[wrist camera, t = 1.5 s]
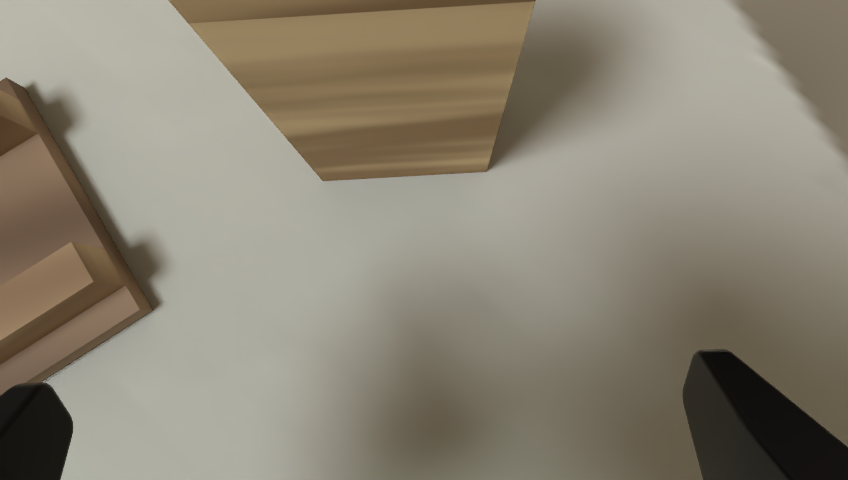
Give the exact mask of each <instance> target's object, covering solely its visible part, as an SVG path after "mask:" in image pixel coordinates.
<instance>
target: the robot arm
mask: <svg viewBox="0 0 848 480" xmlns="http://www.w3.org/2000/svg"><path fill="white" fill-rule="evenodd" d="M683 403H684V408H685V412H686V415H687V419H688V423H689V427H690V431H691V435H692V438H693V442H694V446H695V450H696V454H697V458H698V461H699V465H700V469H701V473H702V477H703V480H848V447H847V446H846V445H845V444H843V443H842V442H841V441H840V440H838V439H837V438H836V437H835V436H834V435H832V434H831V433H830V432H829V431H827V430H826V429H825V428H824V427H823V426H821V425H820V424H819V423H818V422H816V421H815V420H814V419H813V418H811V417H810V416H809V415H808V414H807V413H805V412H804V411H803V410H802V409H800V408H799V407H798V406H797V405H796V404H794V403H793V402H792V401H791V400H789V399H788V398H787V397H786V396H784V395H783V394H782V393H781V392H780V391H778V390H777V389H776V388H775V387H773V386H772V385H771V384H770V383H769V382H767V381H766V380H765V379H764V378H762V377H761V376H760V375H759V374H758V373H756V372H755V371H754V370H753V369H751V368H750V367H749V366H748V365H746V364H745V363H744V362H743V361H742V360H740V359H739V358H738V357H737V356H735V355H734V354H733V353H732V352H730V351H728V350H725V349H713V350H699V351H697V352H696V353H695V354H694V355H693V358H692V360H691V364H690V367H689V370H688V374H687V377H686V380H685V384H684V387H683ZM72 434H73V421H72V418H71V416H70V414H69V412H68V411H67V409H66V408H65V406H64V405H63V403H62V402H61V400H60V398H59V397H58V395H57V394H56V392H55V391H54V389H53V388H52V387H51V386H50V385H49V384H47V383H43V382H40V383H22V384H17V385H14V386H12V387H11V388H9V389H8V390H7V391H5V392H4V393H3V394H2V395H0V480H60V479H61V475H62V472H63V468H64V464H65V461H66V457H67V453H68V449H69V446H70V442H71V438H72Z"/></svg>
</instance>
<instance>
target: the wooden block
mask: <svg viewBox="0 0 848 480" xmlns="http://www.w3.org/2000/svg"><path fill="white" fill-rule="evenodd" d="M169 1H170V3H171V4H172V5H173V6H174V7H175V8H176V10H177V11H178V12H179V13H180V14H181V16H182V17H183V18H184V19H185V20H186V21H187V23H188V24H189V25H190V26H191V27H192V28H193V30H194V31H195V32H196V33H197V34H198V35H199V37H200V38H201V39H202V40H203V41H204V42H205V44H206V45H207V46H208V47H209V48H210V49H211V51H212V52H213V53H214V54H215V55H216V56H217V58H218V59H219V60H220V61H221V62H222V64H223V65H224V66H225V67H226V68H227V69H228V71H229V72H230V73H231V74H232V75H233V76H234V78H235V79H236V80H237V81H238V82H239V83H240V85H241V86H242V87H243V88H244V89H245V90H246V92H247V93H248V94H249V95H250V96H251V97H252V99H253V100H254V101H255V102H256V103H257V105H258V106H259V107H260V108H261V109H262V110H263V112H264V113H265V114H266V115H267V116H268V117H269V119H270V120H271V121H272V122H273V123H274V124H275V126H276V127H277V128H278V129H279V130H280V131H281V133H282V134H283V135H284V136H285V137H286V138H287V140H288V141H289V142H290V143H291V144H292V146H293V147H294V148H295V149H296V150H297V151H298V153H299V154H300V155H301V156H302V157H303V158H304V160H305V161H306V162H307V163H308V164H309V165H310V167H311V168H312V169H313V170H314V171H315V172H316V174H317V175H318V176H319V177H320V178H321V179H322V181H332V180H349V179H367V178H384V177H402V176H420V175H437V174H455V173H472V172H487V168H488V165H489V161H490V158H491V154H492V151H493V147H494V144H495V140H496V137H497V133H498V130H499V126H500V123H501V119H502V116H503V112H504V109H505V105H506V102H507V98H508V95H509V91H510V88H511V84H512V81H513V77H514V74H515V71H516V67H517V64H518V60H519V57H520V53H521V50H522V46H523V43H524V39H525V36H526V32H527V29H528V25H529V22H530V18H531V15H532V11H533V8H534V4H535V1H536V0H169Z"/></svg>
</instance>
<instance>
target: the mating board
mask: <svg viewBox="0 0 848 480" xmlns="http://www.w3.org/2000/svg"><path fill="white" fill-rule="evenodd" d="M151 311H153V309H152V308H151V306H150V304H149V302H148V301H147V299H146V297H145V295H144V294H143V292H142V290H141V289H140V287H139V285H138V283H137V282H136V280H135V278H134V276H133V275H132V273H131V271H130V270H129V268H128V266H127V264H126V263H125V261H124V259H123V257H122V256H121V254H120V252H119V250H118V249H117V247H116V245H115V244H114V242H113V240H112V238H111V237H110V235H109V233H108V231H107V230H106V228H105V226H104V225H103V223H102V221H101V219H100V218H99V216H98V214H97V212H96V211H95V209H94V207H93V206H92V204H91V202H90V200H89V199H88V197H87V195H86V193H85V192H84V190H83V188H82V187H81V185H80V183H79V181H78V180H77V178H76V176H75V174H74V173H73V171H72V169H71V168H70V166H69V164H68V162H67V161H66V159H65V157H64V155H63V154H62V152H61V150H60V149H59V147H58V145H57V143H56V142H55V140H54V138H53V136H52V135H51V133H50V131H49V130H48V128H47V126H46V124H45V123H44V121H43V119H42V117H41V116H40V114H39V112H38V111H37V109H36V107H35V105H34V104H33V102H32V100H31V98H30V97H29V95H28V93H27V92H26V90H25V88H24V87H22V86H20V85H18V84H17V83H15V82H13V81H11V80H9V79H8V78H5V79H3V80H1V81H0V395H2V394H3V393H4V392H5V391H7V390H8V389H9V388H11V387H12V386H14V385H17V384H22V383H40V382H41V381H43V380H44V379H46V378H48V377H49V376H51V375H52V374H54V373H55V372H57V371H59V370H60V369H62V368H63V367H65V366H66V365H68V364H70V363H71V362H73V361H74V360H76V359H77V358H79V357H81V356H82V355H84V354H85V353H87V352H88V351H90V350H91V349H93V348H95V347H96V346H98V345H99V344H101V343H102V342H104V341H106V340H107V339H109V338H110V337H112V336H113V335H115V334H117V333H118V332H120V331H121V330H123V329H124V328H126V327H128V326H129V325H131V324H132V323H134V322H135V321H137V320H139V319H140V318H142V317H143V316H145V315H146V314H148V313H150V312H151Z"/></svg>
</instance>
